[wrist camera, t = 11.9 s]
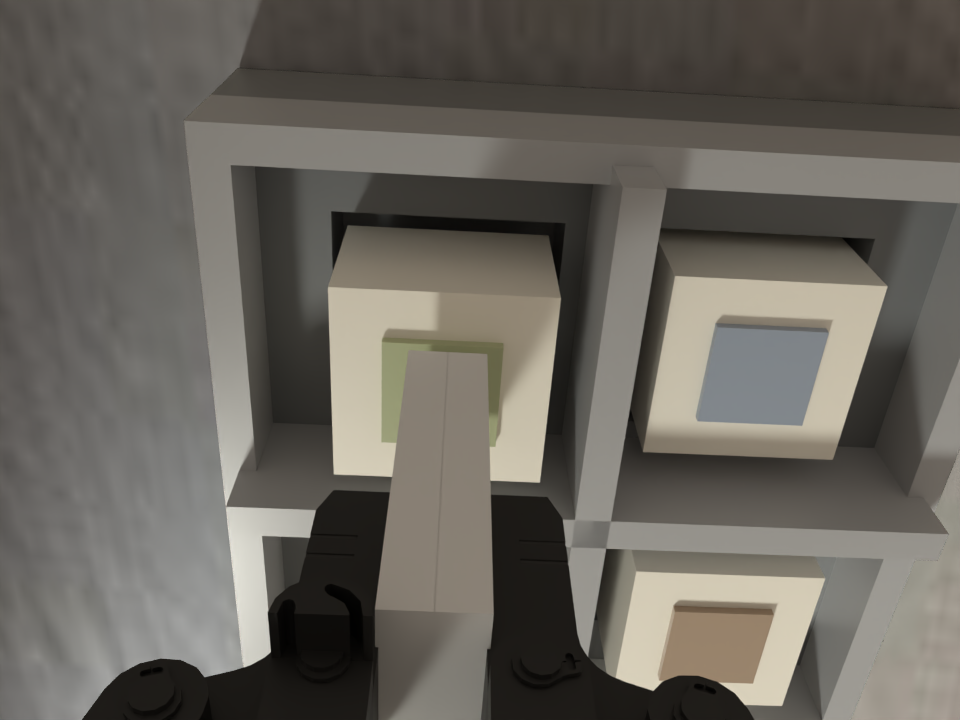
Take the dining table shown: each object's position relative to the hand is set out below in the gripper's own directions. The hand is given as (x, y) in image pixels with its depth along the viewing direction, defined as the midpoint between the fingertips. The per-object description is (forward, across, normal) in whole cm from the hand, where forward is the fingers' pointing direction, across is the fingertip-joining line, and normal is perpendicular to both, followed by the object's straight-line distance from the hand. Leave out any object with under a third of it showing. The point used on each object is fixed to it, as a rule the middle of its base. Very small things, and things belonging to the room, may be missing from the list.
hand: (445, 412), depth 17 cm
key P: (+4, 0, 0) cm, 4 cm away
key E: (+4, +7, -7) cm, 11 cm away
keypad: (+7, +3, -4) cm, 8 cm away
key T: (+6, +7, 0) cm, 9 cm away
